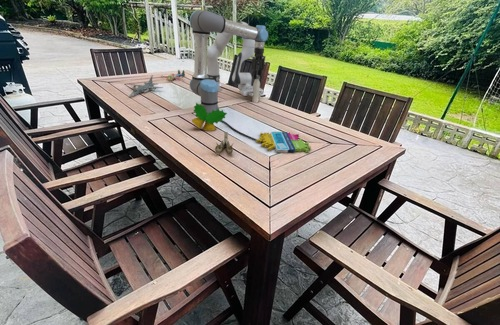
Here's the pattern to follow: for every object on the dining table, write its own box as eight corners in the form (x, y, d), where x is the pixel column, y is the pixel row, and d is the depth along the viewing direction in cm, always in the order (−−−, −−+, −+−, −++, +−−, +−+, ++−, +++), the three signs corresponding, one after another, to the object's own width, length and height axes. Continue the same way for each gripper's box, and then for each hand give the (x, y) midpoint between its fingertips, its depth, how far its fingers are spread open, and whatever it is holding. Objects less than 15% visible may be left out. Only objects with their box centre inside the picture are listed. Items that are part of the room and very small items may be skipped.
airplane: (123, 87, 237) (120, 75, 231) (158, 84, 250) (157, 74, 245) (127, 99, 208) (125, 87, 203) (167, 96, 221) (166, 84, 216)
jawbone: (234, 135, 144) (233, 125, 135) (233, 160, 138) (232, 151, 129) (217, 135, 144) (216, 125, 135) (216, 160, 138) (214, 150, 129)
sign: (313, 150, 142) (258, 149, 139) (312, 153, 143) (258, 152, 140) (301, 132, 164) (254, 130, 161) (301, 134, 165) (254, 133, 162)
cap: (256, 77, 217) (256, 74, 216) (260, 78, 214) (261, 75, 213) (253, 78, 214) (253, 75, 213) (257, 79, 211) (257, 76, 210)
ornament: (218, 133, 171) (224, 110, 169) (221, 134, 163) (227, 111, 161) (186, 125, 162) (192, 101, 160) (189, 126, 155) (195, 101, 153)
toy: (193, 71, 287) (180, 75, 262) (193, 77, 291) (181, 82, 265) (170, 68, 292) (155, 72, 266) (170, 75, 296) (156, 79, 270)
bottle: (254, 100, 227) (256, 75, 217) (259, 101, 224) (261, 76, 214) (250, 101, 223) (252, 76, 213) (255, 102, 220) (257, 77, 210)
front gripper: (254, 48, 195) (252, 80, 207) (270, 48, 206) (267, 78, 217) (247, 47, 200) (246, 78, 211) (263, 46, 210) (261, 76, 222)
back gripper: (238, 87, 224) (245, 91, 214) (259, 86, 233) (267, 90, 223) (238, 94, 228) (245, 99, 217) (258, 93, 236) (266, 97, 226)
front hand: (257, 78), depth 214 cm, fingers closed on cap, 4 cm apart
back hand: (256, 94), depth 220 cm, fingers closed on bottle, 5 cm apart
